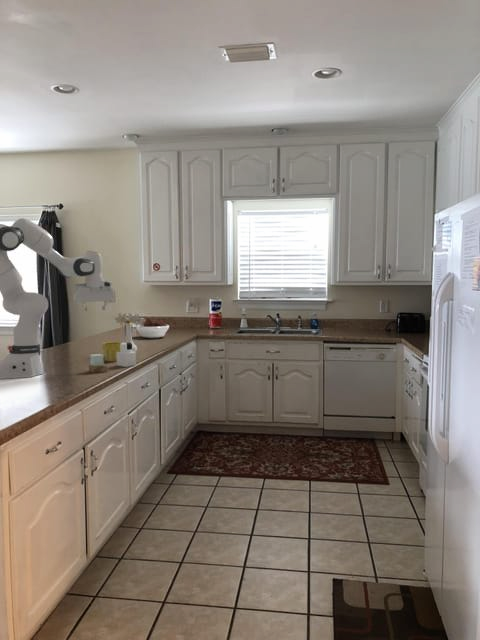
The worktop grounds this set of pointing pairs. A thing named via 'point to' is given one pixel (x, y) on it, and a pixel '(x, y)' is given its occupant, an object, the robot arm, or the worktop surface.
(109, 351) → the plant pot
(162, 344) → the worktop surface
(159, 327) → the white bowl
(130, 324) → the flower vase
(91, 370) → the block
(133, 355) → the medicine bottle
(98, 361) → the cube
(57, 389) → the worktop surface
